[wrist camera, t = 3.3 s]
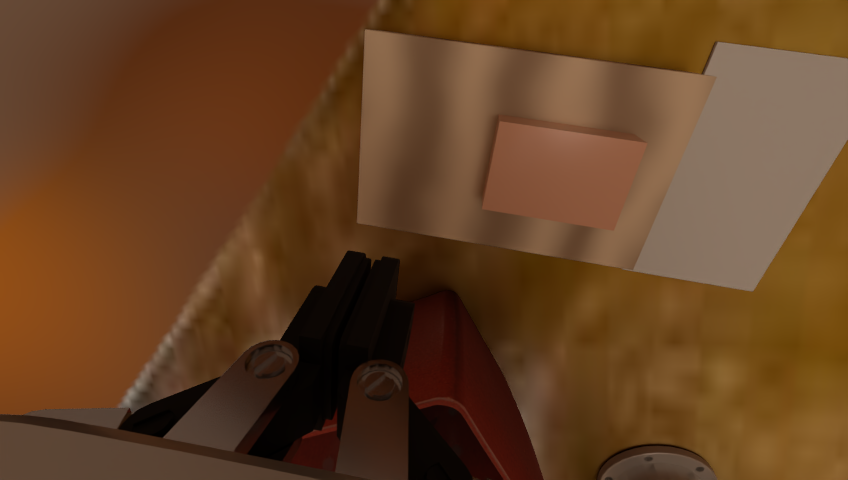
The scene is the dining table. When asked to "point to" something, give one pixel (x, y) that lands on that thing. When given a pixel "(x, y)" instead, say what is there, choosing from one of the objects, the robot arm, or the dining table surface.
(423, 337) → the plant pot
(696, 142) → the mat
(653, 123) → the board
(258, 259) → the dining table surface
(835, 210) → the dining table surface
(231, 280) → the dining table surface
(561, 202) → the block
